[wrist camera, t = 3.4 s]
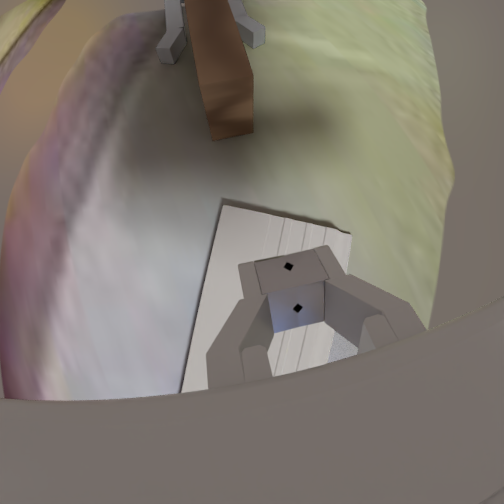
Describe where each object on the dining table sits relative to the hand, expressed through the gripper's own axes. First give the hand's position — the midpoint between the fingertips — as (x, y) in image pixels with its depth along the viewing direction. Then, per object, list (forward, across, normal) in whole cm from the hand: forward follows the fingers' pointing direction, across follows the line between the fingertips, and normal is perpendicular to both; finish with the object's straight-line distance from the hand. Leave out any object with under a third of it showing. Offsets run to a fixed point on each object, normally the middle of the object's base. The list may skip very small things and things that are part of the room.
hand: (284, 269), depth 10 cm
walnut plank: (+23, 0, -4) cm, 24 cm away
